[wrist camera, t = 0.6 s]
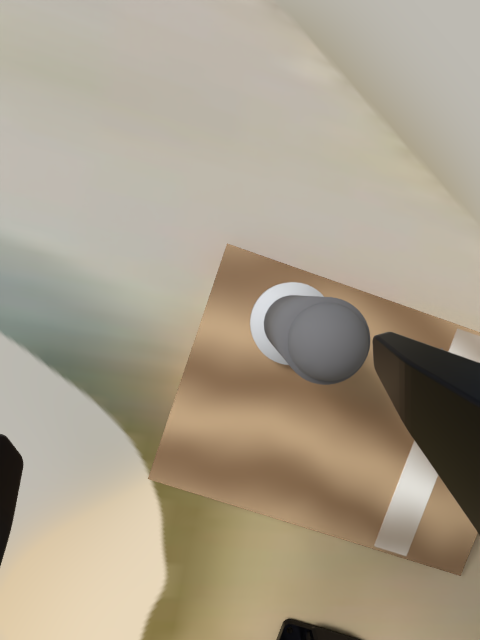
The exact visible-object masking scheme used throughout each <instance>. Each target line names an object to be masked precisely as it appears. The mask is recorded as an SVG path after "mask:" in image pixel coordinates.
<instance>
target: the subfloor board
mask: <svg viewBox="0 0 480 640" xmlns="http://www.w3.org/2000/svg"><path fill="white" fill-rule="evenodd" d="M289 282H297V283H303V284H307V285H309V286H311V287H313V288H315V289H316V290H318V291H319V292H320V293H321V294H322V295H323V296H324V297H333V298H338V299H342V300H344V301H347V302H349V303H350V304H352V305H353V306H354V307H356V308H357V309H358V310H359V311H360V312H361V314H362V315H363V316H364V318H365V320H366V322H367V324H368V327H369V331H370V349H369V353H368V356H367V358H366V360H365V362H364V364H363V365H362V367H361V368H360V369H359V370H358V371H357V372H356V373H355V374H354V375H353V376H351V377H350V378H348V379H346V380H344V381H342V382H339V383H336V384H330V385H322V384H316V383H312V382H309V381H307V380H305V379H303V378H302V377H300V376H299V375H298V374H297V373H296V372H295V371H294V370H293V369H292V368H291V367H290V366H289V365H284V364H280V363H277V362H275V361H273V360H271V359H269V358H268V357H267V356H265V355H264V354H263V353H262V352H261V351H260V349H259V348H258V347H257V345H256V343H255V341H254V339H253V337H252V334H251V330H250V315H251V311H252V308H253V306H254V304H255V302H256V301H257V299H258V298H259V297H260V296H261V295H262V294H263V293H264V292H265V291H266V290H267V289H269V288H271V287H273V286H275V285H278V284H282V283H289ZM385 332H394V333H397V334H399V335H402V336H405V337H408V338H411V339H414V340H416V341H419V342H422V343H425V344H428V345H431V346H433V347H436V348H439V349H442V350H445V351H448V352H450V353H453V354H456V355H459V356H462V357H465V358H468V359H470V360H473V361H476V362H479V363H480V332H477V331H474V330H472V329H469V328H466V327H463V326H460V325H457V324H455V323H452V322H449V321H446V320H443V319H440V318H437V317H435V316H432V315H429V314H426V313H423V312H420V311H418V310H415V309H412V308H409V307H406V306H403V305H400V304H398V303H395V302H392V301H389V300H386V299H383V298H381V297H378V296H375V295H372V294H369V293H366V292H363V291H361V290H358V289H355V288H352V287H349V286H346V285H344V284H341V283H338V282H335V281H332V280H329V279H327V278H324V277H321V276H318V275H315V274H312V273H309V272H307V271H304V270H301V269H298V268H295V267H292V266H290V265H287V264H284V263H281V262H278V261H275V260H272V259H270V258H267V257H264V256H261V255H258V254H255V253H253V252H250V251H247V250H244V249H241V248H238V247H236V246H233V245H230V244H227V246H226V249H225V252H224V255H223V257H222V260H221V263H220V266H219V269H218V272H217V275H216V278H215V281H214V284H213V287H212V290H211V293H210V296H209V299H208V302H207V305H206V308H205V311H204V314H203V317H202V320H201V323H200V326H199V329H198V332H197V335H196V338H195V341H194V344H193V346H192V349H191V352H190V355H189V358H188V361H187V364H186V367H185V370H184V373H183V376H182V379H181V382H180V385H179V388H178V391H177V394H176V397H175V400H174V403H173V406H172V409H171V412H170V415H169V418H168V421H167V424H166V427H165V430H164V433H163V436H162V438H161V441H160V444H159V447H158V450H157V453H156V456H155V459H154V462H153V465H152V468H151V471H150V474H149V477H148V479H150V480H153V481H156V482H159V483H163V484H166V485H169V486H172V487H176V488H179V489H182V490H185V491H188V492H192V493H195V494H198V495H201V496H205V497H208V498H211V499H214V500H217V501H221V502H224V503H227V504H230V505H234V506H237V507H240V508H243V509H247V510H250V511H253V512H256V513H259V514H263V515H266V516H269V517H272V518H276V519H279V520H282V521H285V522H288V523H292V524H295V525H298V526H301V527H305V528H308V529H311V530H314V531H318V532H321V533H324V534H327V535H330V536H334V537H337V538H340V539H343V540H347V541H350V542H353V543H356V544H359V545H363V546H366V547H369V548H372V549H376V550H379V551H382V552H385V553H388V554H392V555H395V556H398V557H401V558H405V559H408V560H411V561H414V562H418V563H421V564H424V565H427V566H430V567H434V568H437V569H440V570H443V571H447V572H450V573H453V574H456V575H459V576H461V573H462V571H463V568H464V566H465V563H466V561H467V558H468V556H469V553H470V551H471V548H472V546H473V544H474V541H475V539H476V536H477V534H478V532H477V530H476V529H475V528H474V526H473V525H472V523H471V522H470V520H469V519H468V517H467V516H466V515H465V513H464V512H463V510H462V509H461V507H460V506H459V504H458V503H457V501H456V500H455V499H454V497H453V496H452V494H451V493H450V491H449V490H448V488H447V487H446V485H445V484H444V483H443V481H442V480H441V478H440V477H439V475H438V474H437V472H436V471H435V470H434V468H433V467H432V465H431V464H430V462H429V461H428V459H427V458H426V456H425V455H424V454H423V452H422V451H421V449H420V448H419V446H418V445H417V443H416V442H415V440H414V439H413V438H412V436H411V435H410V433H409V432H408V430H407V429H406V427H405V425H404V424H403V422H402V420H401V418H400V416H399V415H398V413H397V411H396V409H395V407H394V405H393V403H392V401H391V400H390V398H389V396H388V394H387V392H386V390H385V388H384V386H383V384H382V383H381V381H380V379H379V377H378V375H377V373H376V371H375V368H374V362H373V343H372V341H373V337H374V336H375V335H378V334H382V333H385Z"/></svg>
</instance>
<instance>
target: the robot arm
mask: <svg viewBox="0 0 480 640" xmlns="http://www.w3.org/2000/svg"><path fill="white" fill-rule="evenodd" d="M372 343H373V362H374V368H375V371H376V373H377V375H378V377H379V379H380V381H381V383H382V384H383V386H384V388H385V390H386V392H387V394H388V396H389V398H390V400H391V401H392V403H393V405H394V407H395V409H396V411H397V413H398V415H399V416H400V418H401V420H402V422H403V424H404V425H405V427H406V429H407V430H408V432H409V433H410V435H411V436H412V438H413V439H414V440H415V442H416V443H417V445H418V446H419V448H420V449H421V451H422V452H423V454H424V455H425V456H426V458H427V459H428V461H429V462H430V464H431V465H432V467H433V468H434V470H435V471H436V472H437V474H438V475H439V477H440V478H441V480H442V481H443V483H444V484H445V485H446V487H447V488H448V490H449V491H450V493H451V494H452V496H453V497H454V499H455V500H456V501H457V503H458V504H459V506H460V507H461V509H462V510H463V512H464V513H465V515H466V516H467V517H468V519H469V520H470V522H471V523H472V525H473V526H474V528H475V529H476V530H477V532H478V533H479V535H480V363H479V362H476V361H473V360H470V359H468V358H465V357H462V356H459V355H456V354H453V353H450V352H448V351H445V350H442V349H439V348H436V347H433V346H431V345H428V344H425V343H422V342H419V341H416V340H414V339H411V338H408V337H405V336H402V335H399V334H397V333H394V332H385V333H382V334H378V335H375V336H374V337H373V341H372ZM22 470H23V459H22V456H21V455H20V454H19V452H18V451H17V450H16V448H15V447H14V446H13V444H12V443H11V442H10V440H9V439H8V438H7V437H6V436H5V435H2V434H0V565H1V562H2V559H3V555H4V552H5V549H6V545H7V542H8V538H9V534H10V531H11V526H12V522H13V517H14V512H15V507H16V502H17V496H18V491H19V486H20V480H21V476H22ZM288 627H291V628H288ZM277 640H360V639H356V638H353V637H350V636H346V635H343V634H340V633H336V632H333V631H329V630H326V629H323V628H319V627H316V626H312V625H309V624H306V623H302V622H299V621H295V620H292V619H287V620H285V621H284V622H283V624H282V626H281V629H280V632H279V634H278V637H277Z"/></svg>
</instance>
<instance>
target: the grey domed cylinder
mask: <svg viewBox="0 0 480 640" xmlns="http://www.w3.org/2000/svg"><path fill="white" fill-rule="evenodd" d="M250 330H251V334H252V337H253V339H254V341H255V343H256V345H257V347H258V348H259V349H260V351H261V352H262V353H263V354H264V355H265V356H267V357H268V358H269V359H271V360H273V361H275V362H277V363H280V364H284V365H289V366H290V367H291V368H292V369H293V370H294V371H295V372H296V373H297V374H298V375H299V376H300V377H302V378H303V379H305V380H307V381H309V382H312V383H316V384H322V385H330V384H336V383H339V382H342V381H344V380H346V379H348V378H350V377H351V376H353V375H354V374H355V373H356V372H357V371H358V370H359V369H360V368H361V367H362V365H363V364H364V362H365V360H366V358H367V356H368V353H369V349H370V331H369V327H368V324H367V322H366V320H365V318H364V316H363V315H362V314H361V312H360V311H359V310H358V309H357V308H356V307H354V306H353V305H352V304H350V303H349V302H347V301H344V300H342V299H338V298H333V297H324V296H323V295H322V294H321V293H320V292H319V291H318V290H316V289H315V288H313V287H311V286H309V285H307V284H303V283H297V282H289V283H282V284H278V285H275V286H273V287H271V288H269V289H267V290H266V291H265V292H264V293H263V294H262V295H261V296H260V297H259V298H258V299H257V301H256V302H255V304H254V306H253V308H252V311H251V315H250Z"/></svg>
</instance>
